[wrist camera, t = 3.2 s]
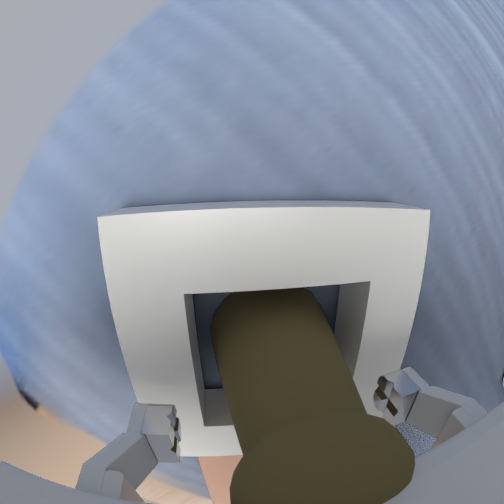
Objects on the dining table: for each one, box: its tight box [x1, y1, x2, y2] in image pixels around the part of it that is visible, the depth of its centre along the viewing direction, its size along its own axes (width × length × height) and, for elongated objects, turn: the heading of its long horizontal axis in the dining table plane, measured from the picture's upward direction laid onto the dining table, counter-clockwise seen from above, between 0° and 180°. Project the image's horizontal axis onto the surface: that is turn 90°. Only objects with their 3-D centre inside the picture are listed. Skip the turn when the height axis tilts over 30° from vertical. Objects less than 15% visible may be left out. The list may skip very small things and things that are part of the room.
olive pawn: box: [210, 287, 415, 504], centre depth 9 cm, size 6×6×11 cm
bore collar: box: [97, 200, 430, 456], centre depth 13 cm, size 13×13×3 cm
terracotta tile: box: [198, 425, 396, 504], centre depth 19 cm, size 16×16×1 cm
